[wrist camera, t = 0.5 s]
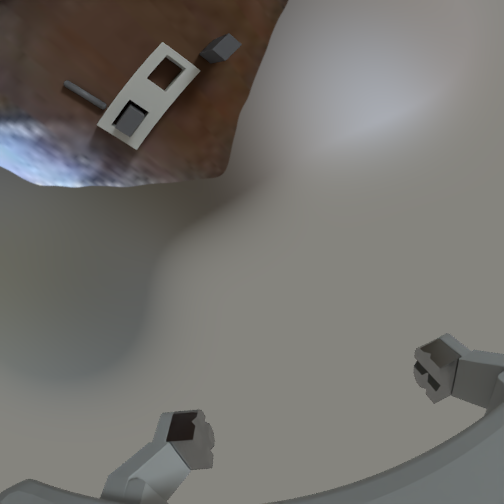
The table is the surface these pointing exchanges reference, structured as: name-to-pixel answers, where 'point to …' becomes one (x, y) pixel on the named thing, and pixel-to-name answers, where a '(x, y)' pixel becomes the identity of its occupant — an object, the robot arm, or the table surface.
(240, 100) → the table surface
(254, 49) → the table surface
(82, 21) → the table surface
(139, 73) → the power strip
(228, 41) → the plug
